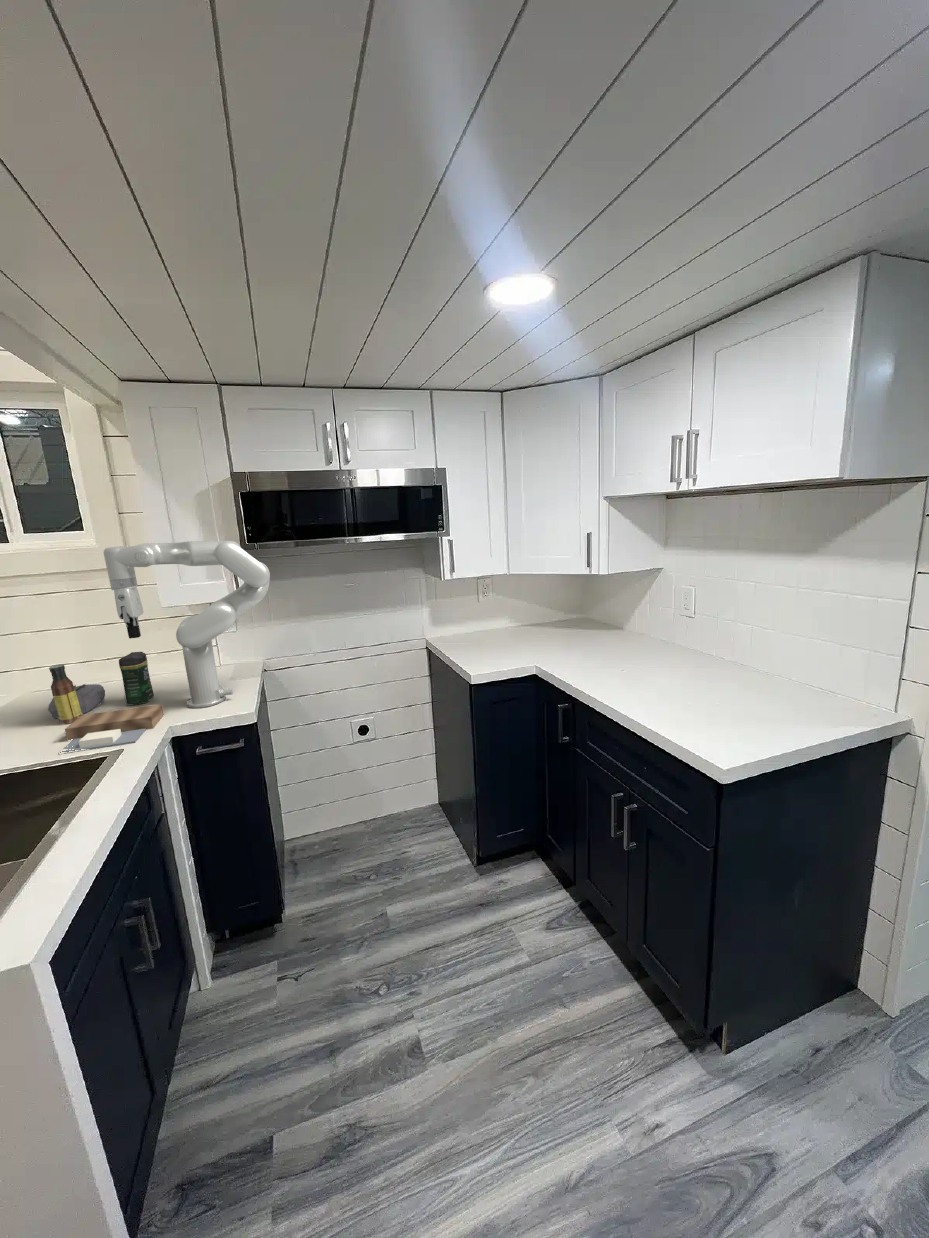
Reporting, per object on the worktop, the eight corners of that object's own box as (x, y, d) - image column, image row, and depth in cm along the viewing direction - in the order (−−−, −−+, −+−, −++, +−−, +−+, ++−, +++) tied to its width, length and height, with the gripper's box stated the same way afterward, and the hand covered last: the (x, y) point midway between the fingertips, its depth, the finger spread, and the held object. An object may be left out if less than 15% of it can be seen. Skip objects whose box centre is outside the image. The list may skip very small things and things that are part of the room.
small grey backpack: (69, 703, 198) (40, 723, 179) (64, 682, 196) (34, 700, 177) (113, 697, 201) (89, 716, 182) (109, 677, 200) (84, 694, 180)
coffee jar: (147, 704, 190) (137, 655, 187) (123, 707, 189) (113, 658, 185) (157, 695, 200) (148, 649, 196) (135, 698, 199) (125, 651, 195)
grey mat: (146, 729, 167) (145, 728, 166) (135, 742, 157) (134, 741, 157) (74, 740, 162) (74, 738, 162) (58, 754, 152) (58, 752, 152)
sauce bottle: (79, 715, 183) (67, 661, 179) (85, 719, 179) (72, 664, 175) (57, 722, 178) (43, 666, 174) (62, 726, 174) (48, 669, 170)
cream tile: (112, 736, 156) (113, 742, 157) (120, 728, 162) (121, 734, 162) (78, 741, 154) (79, 747, 155) (87, 733, 160) (89, 739, 161)
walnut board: (164, 715, 179) (161, 704, 178) (153, 728, 167) (150, 716, 166) (84, 726, 173) (81, 715, 172) (67, 741, 162) (64, 729, 161)
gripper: (129, 585, 167) (140, 640, 171) (143, 580, 181) (153, 631, 185) (102, 588, 165) (114, 644, 169) (119, 582, 179) (130, 634, 183)
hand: (135, 637), depth 177 cm, fingers closed
